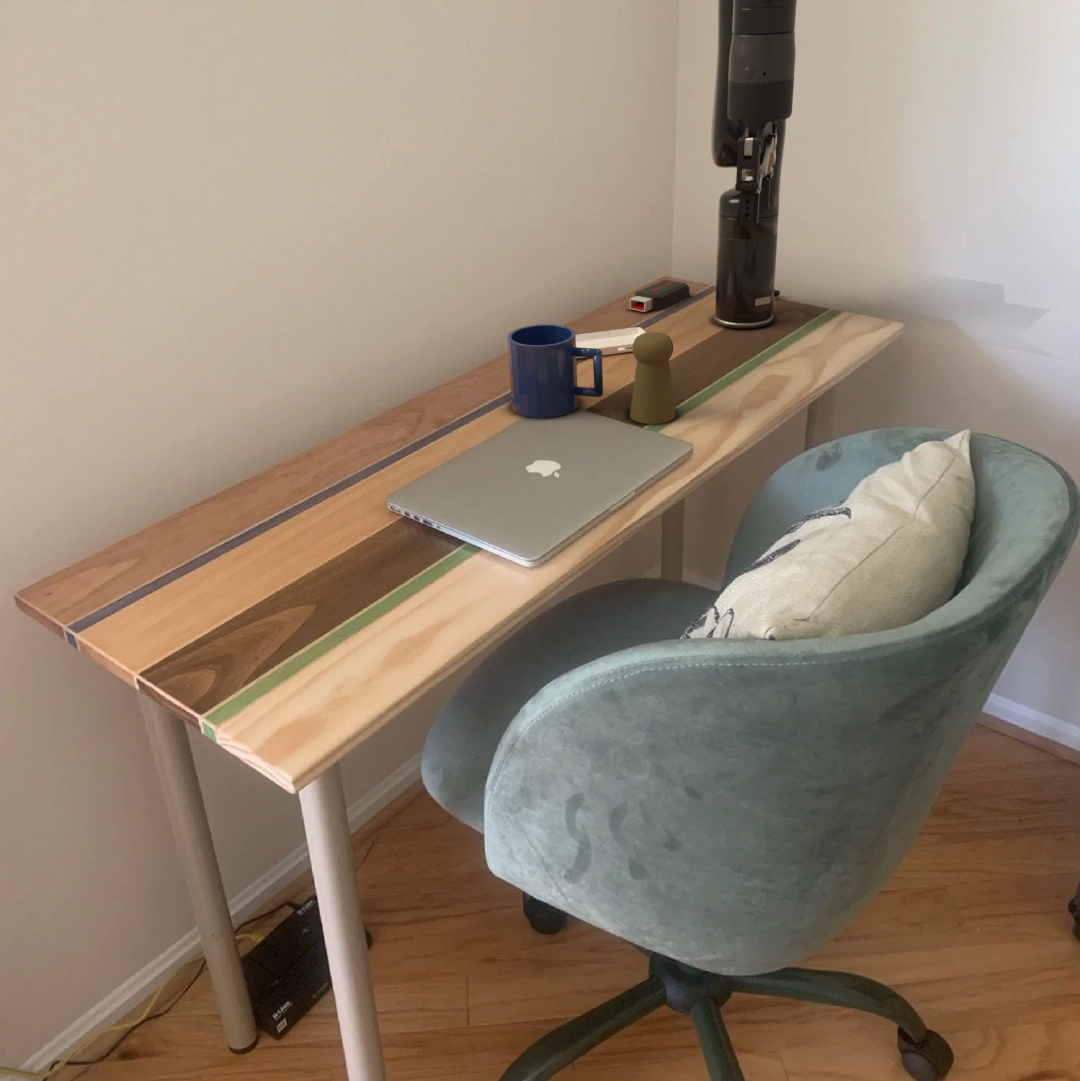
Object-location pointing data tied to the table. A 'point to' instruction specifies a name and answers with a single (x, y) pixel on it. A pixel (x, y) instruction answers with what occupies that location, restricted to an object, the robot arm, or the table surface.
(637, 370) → the olive pawn figure
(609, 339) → the phone case
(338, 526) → the table surface
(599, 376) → the mug
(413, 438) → the table surface
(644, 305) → the usb drive
